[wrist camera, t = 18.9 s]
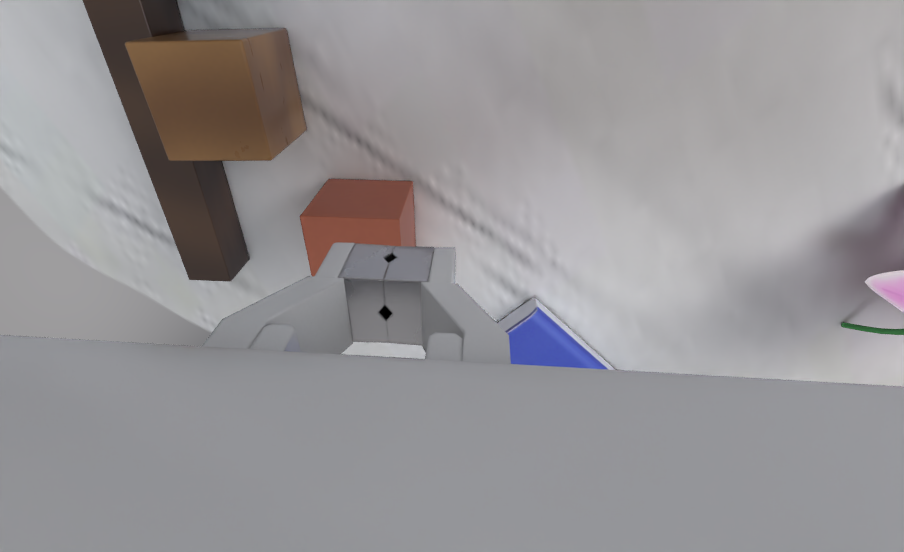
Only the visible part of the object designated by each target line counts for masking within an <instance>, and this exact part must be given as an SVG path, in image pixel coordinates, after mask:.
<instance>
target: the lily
mask: <svg viewBox="0 0 904 552" xmlns="http://www.w3.org/2000/svg"><path fill="white" fill-rule="evenodd" d="M865 283H866V284H867V285H868V286H869V288H870V289H872V290H873V291H874V292H876V293H877V294H878V295H880V296H881V297H882V298H884V299H885V300H887V301H888V302H889V303H891V304H892V305H894V306H895V307H896V308H898V309H899V310H900V311H902V312H903V313H904V270H901V271H892V272H886V273H881V274H877V275H874V276H871V277H868V278H867V280H866V281H865ZM841 326H842V327H845V328H850V329H855V330H860V331H866V332H873V333H879V334H894V335H904V329H881V328H874V327H867V326H861V325H855V324H850V323H844V322H843V323H842V324H841Z"/></svg>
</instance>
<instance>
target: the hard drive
mask: <svg viewBox="0 0 904 552" xmlns="http://www.w3.org/2000/svg"><path fill="white" fill-rule="evenodd" d="M497 324H498V325H499V326H500V327H501V328H502V329H503V330H504V331H505V332H506V333H507V334H508V335H509V344H510V359H511V364H519V365H537V366H554V367H572V368H589V369H607V370H615V369H614V368H613V367H612V366H611V365H610V364H608V363H607V362H606V361H605V360H604V359H603V358H602V357H601V356H600V355H598V354H597V353H596V352H595V351H594V350H593V349H592V348H591V347H589V346H588V345H587V344H586V343H585V342H584V341H583V340H582V339H581V338H579V337H578V336H577V335H576V334H575V333H574V332H573V331H572V330H570V329H569V328H568V327H567V326H566V325H565V324H564V323H563V322H561V321H560V320H559V319H558V318H557V317H556V316H555V315H554V314H553V313H551V312H550V311H549V310H548V309H547V308H546V307H545V306H544V305H543V304H541V303H540V302H539V301H538V300H537V299H536V298H533V299H531V300H529V301H528V302H526V303H525V304H523V305H522V306H520V307H519V308H518V309H516V310H515V311H514V312H512V313H511V314H509V315H508V316H507V317H505V318H504V319H502V320H501V321H500V322H498V323H497Z"/></svg>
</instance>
